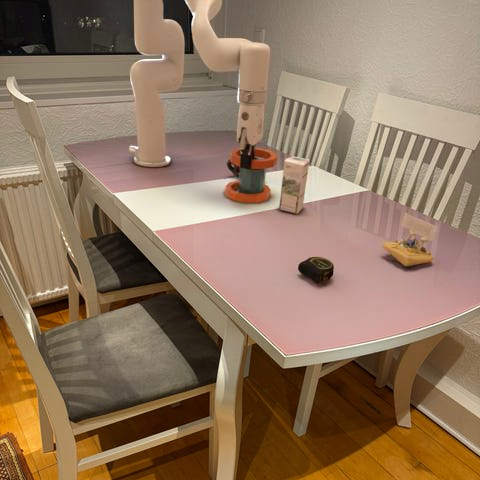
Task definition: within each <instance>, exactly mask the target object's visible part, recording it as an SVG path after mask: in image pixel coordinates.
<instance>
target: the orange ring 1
mask: <svg viewBox="0 0 480 480" xmlns="http://www.w3.org/2000/svg"><path fill="white" fill-rule="evenodd" d="M255 157H256V158H262V159H259V160H253V159H252V164H251V169H266V170H268V169H272V168H274V167H275V166H276V165H277V163H278V155H277V154H276V153H275V152H274V151H272V150H268V149H266V148H260V147H256V148H255ZM240 158H241V149H240V147H238V148H237V147H236V148H234V149H232V150H231V151H230V152H229V159H230V161H231V162H232V164H231V165H233V164H235V165H237V166H239V167H240Z"/></svg>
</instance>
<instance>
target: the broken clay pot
mask: <svg viewBox="0 0 480 480" xmlns="http://www.w3.org/2000/svg"><path fill="white" fill-rule="evenodd" d="M254 160H260V159H259V157H255V158H254ZM226 167H227V168H228V170H229V171H230V172H231V173H232V175H233V176H238V175H239V170H240V167H239V166H237V165H235V164H232V162H231V161H230V158H229V159H228V160H227V162H226Z"/></svg>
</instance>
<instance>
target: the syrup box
mask: <svg viewBox="0 0 480 480" xmlns="http://www.w3.org/2000/svg"><path fill="white" fill-rule="evenodd" d="M309 167H310V159H309V158H303V157H299V156H295V155H290V156H288V157H287V158H285V160H284V161H283V169H282V180H281V187H280V196H279V197H280V198H279V205H278V206H279V207H278V210H279V211H281V212H287V213H291V214H294V215H295V214H296V215H298V214H299V212H301V210H302V209H303V208H304V203H305V193H306V187H307V181H308V173H309V169H310V168H309Z"/></svg>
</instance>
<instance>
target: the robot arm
mask: <svg viewBox="0 0 480 480" xmlns="http://www.w3.org/2000/svg"><path fill="white" fill-rule="evenodd" d="M184 1H185V4H186V5H187V7H188V9H189V10H190V12H191V14H192V16H193V17H192V20H191V34H192V35H191V37H192V43H193V45H194V47H195V49H196V51H197V53H198V55H199V57H200V58H201V60H202V62H203V64H205V66H206V67H207V68H208V69H209V70H210V71H212V72H215V73H224V72H225V73H227V72H238V85H237V87H238V88H237V104H239V109H238V115H237V124H236V125H237V126H236V128H237V129H236V141H237V143H238V144H239V148H240V149H241V158H240V168H245V169H251V164H252V159H253V160H254V158H255V148H257V143H258V142H260V141H261V140H262V139H263V137H264V126H265V125H264V124H265V106H266V105H267V93H268V83H269V72H270V61H271V48H270V46H269V45H268V44H266V43H263V42H257V41H256V42H255V41H254V42H253V41H251V40H249V39H246V38H241V37H234V38H233V37H221V38H220V37H219V36H218V35H216V33H215V31H214V29H213V27H212V25H211V23H210V22H211V20H212V19H214V18H215V17H216V16H217V15H218V14H219V12H220V10H221V8H222V5H223V0H184ZM133 28H134V29H133V32H134V33H133V35H134V36H133V37H134V45H135V48H136V50H137V52H138V53H140V54H141V55H144V56H162V58H158V59H157V58H154V59H153V58H152V59H151V58H150V59H140V60H138V61H136V62H134V63H133V64H132V65H131V67H130V70H129V78H130V83H131V88H132V93H133V97H134V109H135V110H134V111H135V124H136V140H137V141H136V142H137V146H136V145H135V146H134V145H129V146H128V153H129V154H134V155H135V156H134V157H133V162H134V163H135V164H136V165H137V166H141V167H145V168H160V167H165V166H168V165H170V164H171V162H172V161H171V160H172V159H171V157H169V156H168V155H167V145H166V143H167V141H166V138H167V137H166V111H165V110H166V109H165V106H164V103H163V100H162V99H161V97H160V96H159V94H161V93H168V92H174V91H178V90H179V89H180V88H181V86H182V84H183V80H184V69H185V67H184V66H185V35H184V32H183V29H182V26H181V25H180V24H179V23H178V22H177V21H175V20H173V19H166V18H165V19H164V1H163V0H133Z"/></svg>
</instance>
